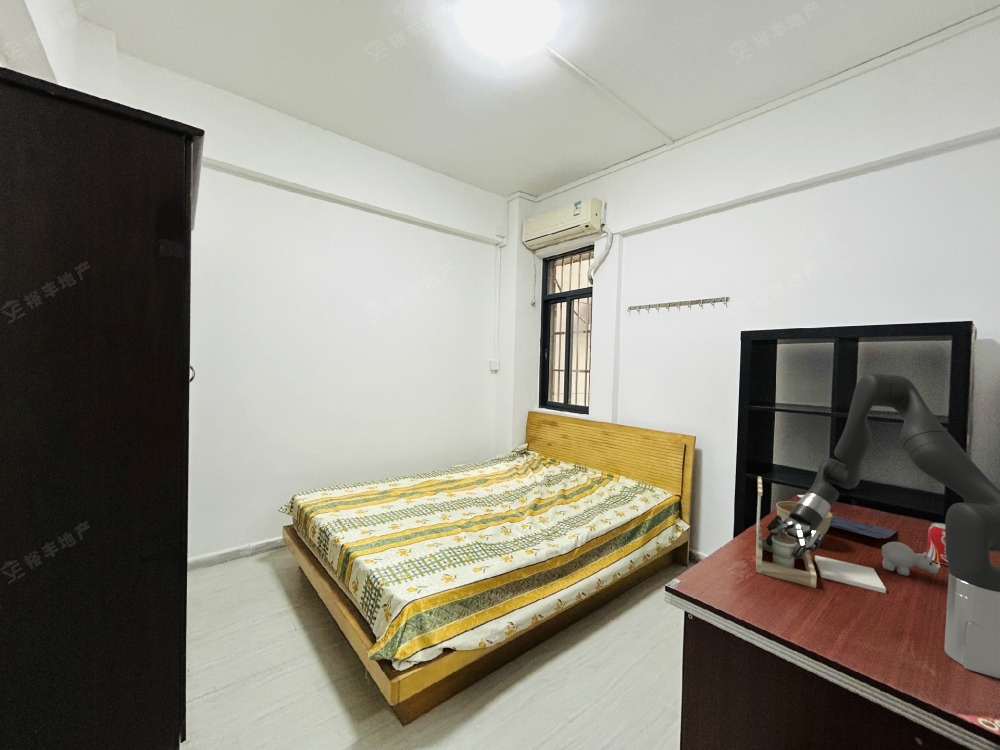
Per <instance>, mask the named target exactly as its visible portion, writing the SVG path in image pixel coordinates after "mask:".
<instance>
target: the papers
mask: <svg viewBox="0 0 1000 750" xmlns="http://www.w3.org/2000/svg"><path fill="white" fill-rule="evenodd" d="M837 516H838V515H835V516H834V514H832V518H831V522H830V526H829V527H834V528H837V529H842V530H846V531H849V532H852V533H856V534H860V535H865V536H868V537H872V538H876V539H881V538H883V539H887V538H888V539H889V538H892V536H893V535H894V534H895V533H897V532H898V531H893V530H894V529H893V530H889V529H890V528H889V529H885V528H886V527H885V528H881V527H882V526H880V527H877V526H878V525H876V526H873V525H874V524H872V525H868V524H869V523H868V524H864V523H865V522H863V523H860V522H861V521H859V522H855V521H856V520H855V521H851V520H852V519H851V520H848V519H849V518H847V519H844V518H845V517H843V518H841V517H842V516H839V517H837Z"/></svg>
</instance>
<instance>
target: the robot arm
mask: <svg viewBox="0 0 1000 750" xmlns="http://www.w3.org/2000/svg"><path fill="white" fill-rule="evenodd" d="M873 407H885V408H886V407H887V408H892V409H894V410H895V411H896V412H897V413H898V414H899V415H900V417H901V418H902V420H903V425H902V428H901V431H900V435H899V441H900V443H899V444H900V445H901V447H902V449H903V450H904V452H905V453H906V454H907V456H908V458H910V460H911V461H912V463H913V464H914V465H915V466H916V467H917V468H918V469H919V470H921V472H923V473H924V474H926V475H928V476H929V477H930V478H933V480H935V481H937V482H939V483H940V484H942V486H943V485H944V486H945V487H947V488H948V489H950V490H951V491H953V492H954V493H956V494H957V495H959V496H960V498H962V499H963V500H964V501H965V502H957V503H953V504H952V505H950V507H948V509H947V511H946V515H945V520H944V521H945V522H944V524H945V535H946V557H947V560H948V563H949V566H948V582H947V583H948V586H947V596H946V597H947V598H946V599H947V601H946V613H945V615H946V616H945V633H944V647H943V648H944V649H943V650H944V652H945V654H946V655H947V656H948V657H950V658H951V659H952V660H953V661H955V662H957V663H958V664H959V665H962V666H963V668H964V669H966V670H969V671H972V672H975V673H980V674H983V675H985V676H989V677H992V678H995V679H1000V566H998V565H996V564H993V563H991V557H990V555H991V554H990V552H1000V489H999V488H998V487H997V486H996V485H995V484H994V483H993V482H992V481H991V480H990V479H989V478H988V477H987V476H986V475H985V474H984V473H983V471H982V470H981V469H980V468H979V467H978V466H977V465H976V464H975V462H974V461H973V460H972V459H971V458H970V457H969V456H968V454H967V453H966V452H965V451H964V449H963V448H962V446H961V445H960V444H959V443H958V442H957V441H956V440H955V438H954V437H953V436H952V435H951V434H950V432H948V430H947V429H946V428H945V427H944V426H943V424H941V422H940V421H939V420H938V418H937V417H936V415H935V414H934V413H933V412H932V411H931V409H930V408H929V407H928V405H927V403H926V402H925V401H924V399H923V397H922V396H921V394H920V392H919V390H918V389H917V388H916V386H915V385H914V383H913V382H912V381H911V380H910V379H908V377H905V376H902V375H897V374H887V373H886V374H885V373H867V374H866V373H865V374H864V375H863V376H862V377H861V378H859V380H858V381H857V383H856V385H855V388H854V391H853V395H852V399H851V403H850V408H849V410H848V411H849V412H848V415H847V420H846V423H845V427H844V429H843V432H842V434H841V436H840V438H839V440H838V442H837V444H836V446H835V448H834V451H833V454H834V456H835V457H836V458H837V459H838V460H837V459H834V458H831V457H828V458H825V459H823V460H822V461H820V463H819V465H818V468H817V473H816V476H815V480H814V482H813V484H811V487H810V488H808V490H807V491H806V493H805V494H804V495H803V496H801V498H800V499H799V500H798V501H797V502H798V503H797V504H796V506H795V507H794V508H793V510H792V511H791V512H790V514H789V517H788V518H787V519H783V518H781V517H780V516H779V515H777V514H776V516H775V517H774V518H773V519H772V521H771V522H770V523H768V525H767V526H766V528H767V530H768V531H769V535H768V536H767V537H766V538H765V539H766V543H767V545H768V546H772V544H773V542H772V536H784V537H787V535H789V536H791V537H795V538H796V539H798V540H799V541H798V542H799V544H797V547H796V549H795V550H794V551H793V553H792V556H793V557H794V560H798V559H800V558H801V557H802V555H803V554H804V553H805V551H808V550H809V551H811V552H813V553H815V552H816V551H817V549H818V548H819V547H820V545H821V544H822V542H823V540H824V539H825V537H824V535H822V534H821V533H820V531H815V530H816V529H817V528H818V526H819V525H820V524H821V522H822V521H823V520H824V518H825V517H826V516H827V514H828V512H830V510H831V508H832V507H833V506H834V505H835V503H836V502H837V500H838V498H839V497H840V492H839V490H838V489H836V488H835V487H834V486H833V485H831V484H830V483H829V482H831V483H833V484H835V485H837V486H839V487H841V488H843V489H845V490H851V489H855V488H856V487H857V486H858V485H859V484H860V482H861V481H860V480H861V477H862V476H861V473H862V464H863V461H864V458H865V457H866V454H867V452H868V450H869V449H870V447H871V445H872V440H873V439H872V436H873V435H872V431H871V429H870V426H869V423H868V415H869V412H870V411H871V410H872V408H873ZM839 460H840V461H839ZM784 529H785V530H784ZM809 536H812V538H811V539H810V541H809V543H808V540H807V537H809Z"/></svg>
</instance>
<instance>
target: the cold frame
mask: <svg viewBox="0 0 1000 750" xmlns="http://www.w3.org/2000/svg"><path fill="white" fill-rule="evenodd" d="M762 497H763V480H762V476H757V507H756V509H757V510H756V544H755V551H756V553H755V556H756V557H755V561H756V562H755V563H756V565H755V567H756V568H755V571H756V572H758V573H757V574H760V573H761V574H760V575H764V574H765V576H769V577H772V578H777V579H779V580H780V579H781V580H785V581H787V582H791V583H795V584H799V585H803V586H806V587H811V588H814V589H816V588H817V575H818V574H817V573H816V569H815V566H814V563H813V559H812V556H811V553H810V550H808V551H805V553H804V554H803V555H802V557H801V558H799V559H801V560H803V564H804V567H805V570H801V569H797V568H795V567H794V568H790V567H786V566H782V565H778V564H774V563H773V562H769V561H765V560H763V551H765V550H766V552H771V553H772V546H768V545H767V543H766V538H763V537H762V536H763V534H762V533H763V532H762V531H763V530H762V527H760V523H761V521H760V519H761V506H762V505H761V502H762Z"/></svg>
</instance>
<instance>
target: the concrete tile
mask: <svg viewBox="0 0 1000 750" xmlns="http://www.w3.org/2000/svg"><path fill="white" fill-rule="evenodd" d="M814 561H815V564H816V566H817V569H818V572H819V575H820V578H823V579H825V580H826V579H827V580H830V581H833V582H839V583H843V584H845V585H846V584H847V585H850V586H855V587H859V588H862V589H866V590H871V591H875V592H879V593H882V594H886V593H887V589H886V587H885V585H884V583H883V582H882V580H881V579H880V577H879V576H878V574H877V571H875V568H873V567H871V566H870V567H868V566H865V565H861V564H855V563H851V562H846V561H842V560H839V559H833V558H829V557H825V556H821V555H820V556H819V555H814Z"/></svg>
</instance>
